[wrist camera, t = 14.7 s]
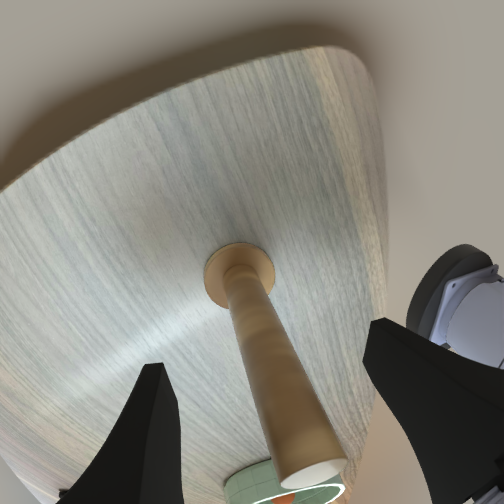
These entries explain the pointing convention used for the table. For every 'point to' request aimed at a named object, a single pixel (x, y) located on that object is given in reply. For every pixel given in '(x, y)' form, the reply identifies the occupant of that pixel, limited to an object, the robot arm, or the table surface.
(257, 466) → the mixing bowl
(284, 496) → the ball
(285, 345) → the stick
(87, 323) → the table surface
